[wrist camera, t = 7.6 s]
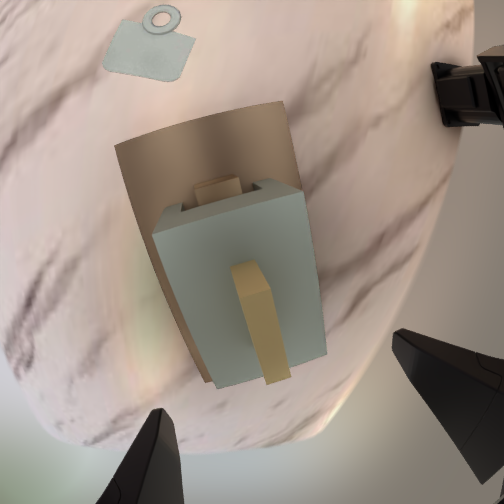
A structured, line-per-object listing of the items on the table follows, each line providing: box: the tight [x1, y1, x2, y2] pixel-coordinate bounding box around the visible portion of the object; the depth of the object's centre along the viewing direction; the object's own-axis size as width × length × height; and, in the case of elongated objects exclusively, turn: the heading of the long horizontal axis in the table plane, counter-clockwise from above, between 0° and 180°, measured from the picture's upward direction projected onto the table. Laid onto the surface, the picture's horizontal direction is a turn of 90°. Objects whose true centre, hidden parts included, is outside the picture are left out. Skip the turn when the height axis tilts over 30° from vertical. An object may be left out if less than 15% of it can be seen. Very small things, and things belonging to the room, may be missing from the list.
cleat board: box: [114, 101, 302, 383], centre depth 19 cm, size 11×20×4 cm, turn 13°
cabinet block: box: [152, 178, 327, 389], centre depth 16 cm, size 7×10×9 cm
